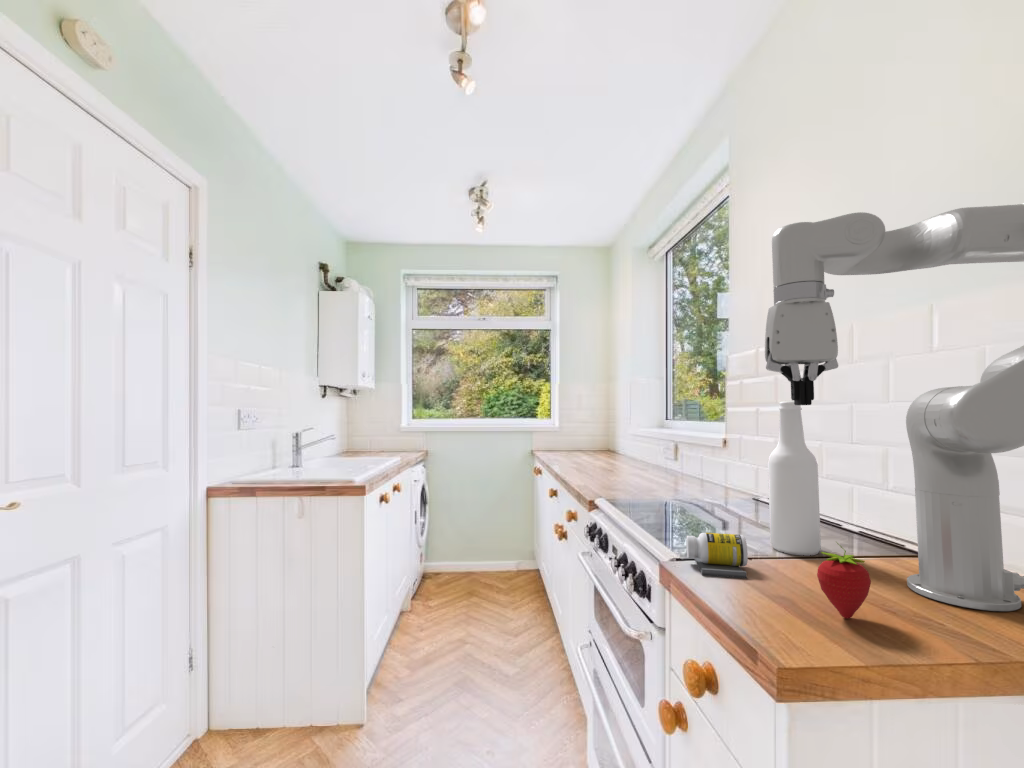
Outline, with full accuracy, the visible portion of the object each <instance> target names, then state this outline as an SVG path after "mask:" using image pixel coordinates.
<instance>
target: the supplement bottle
mask: <svg viewBox="0 0 1024 768" xmlns="http://www.w3.org/2000/svg"><path fill="white" fill-rule="evenodd" d="M685 543H686V544H685V545H686V547H685V548H686V556H687V559H694V560H695V559H696V558H700V560H701V562H703V563H705V564H718V565H731V566H739V567H746V566H747V564H748V557H749V556H748V553H749V552H748V545H747V541H746V538H745V536H744V535H743V534H738V533H737V534H734V533H733V534H732V533H716V532H701V533H700V534H699V535H698V537H696V536H695V535H686V539H685Z"/></svg>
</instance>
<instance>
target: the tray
mask: <svg viewBox="0 0 1024 768" xmlns="http://www.w3.org/2000/svg"><path fill="white" fill-rule="evenodd" d="M694 561H695V564H696V565H697V568H698V567H699V568H698V569H699V571H700V574H701V575H702V576H708V577H709V576H710V577H721V578H735V579H736V578H738V579H747V576H748V575H747V573H748V572H747V571H746V570H743V569H742V568H741V566H731V565H718V564H705V563H703V562H701V560H700V558H696V559H694Z"/></svg>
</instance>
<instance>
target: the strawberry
mask: <svg viewBox="0 0 1024 768" xmlns="http://www.w3.org/2000/svg"><path fill="white" fill-rule="evenodd" d="M835 543H837V545H838V546H839V547H840V548H841V549H842V550H843V551H844V553H843V556H841V555H838V554H837V553H831V552H825V551H824V552H823V551H820V553H821V554H822V555H825V556H828V557H829V558H827V559H825V560H823V561H822V562H821V563H820V564H819V565H818V567H817V571H816V575H817V580H818V583H819V585H820V588H821V591H822V593H824V595H825V597H826V598H827V599H828V600H829V602H830V604H832V605H833V607H834V608H835V609H836V610H837V611H838V613H839V615H840V616H841V617H843V618H844V619H847V620H848V619H851V618H852V617H853V616H854V614H855V613H856V612H857V611H858V610H859V608H861V606H862V604H863V603H864V602H865V600H866V599H867V597H868V596H869V593H870V592H869V591H870V590H871V589H870V588H871V583H872V581H871V580H872V579H871V575H870V573H869V571H868V570H867V569H866V567H864V566H863V565H862V564H865V562H866V561H865V560H863V559H857V558H854V557H855V554H846V551H847V550H845V549H844V547H843V546H841V545H840V543H838V542H837V541H835Z"/></svg>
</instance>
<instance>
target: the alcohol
mask: <svg viewBox="0 0 1024 768" xmlns="http://www.w3.org/2000/svg"><path fill="white" fill-rule="evenodd" d="M778 405H779V407H778V410H779V423H778V442H777V445H776V447H775V448H774V449H773V450H772V451H771V453H770V454H769V456H768V460H767V473H768V474H767V476H768V480H767V481H768V504H769V505H768V506H769V507H768V508H769V509H768V510H769V513H768V514H769V538H770V545H771V546H772V548H773V549H774V550H775V551H777V552H780V553H783V552H784V554H788V555H794V556H795V555H796V556H803V555H804V556H806V557H807V556H810V555H811V556H816V555H818V554H819V553H820V552H821V549H822V543H821V540H822V539H821V515H820V491H819V486H820V485H819V467H818V466H819V465H818V462H817V458H816V456H815V454H813V453H812V452H811V451H810V450H809V448H808V446H807V445H806V440H805V434H804V426H803V418H802V407H801V406H802V405H795V404H794V400H791V401H790V400H789V401H786V400H785V401H780V402H778Z"/></svg>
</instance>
